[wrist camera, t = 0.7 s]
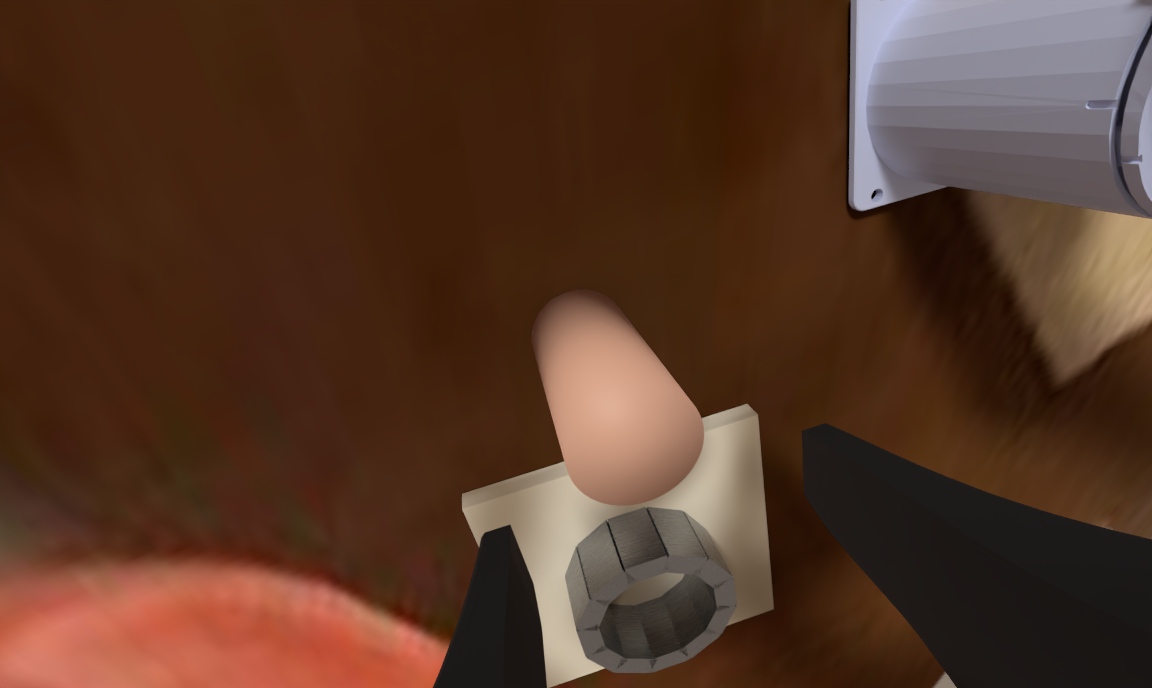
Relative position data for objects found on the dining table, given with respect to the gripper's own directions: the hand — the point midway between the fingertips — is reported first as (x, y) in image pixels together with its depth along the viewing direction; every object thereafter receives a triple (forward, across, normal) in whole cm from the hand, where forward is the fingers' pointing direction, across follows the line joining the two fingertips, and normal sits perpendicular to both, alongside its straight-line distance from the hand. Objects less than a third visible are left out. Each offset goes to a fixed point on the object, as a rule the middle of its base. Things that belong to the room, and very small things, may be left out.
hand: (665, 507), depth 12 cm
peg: (+10, 0, 0) cm, 10 cm away
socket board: (+10, 0, +13) cm, 17 cm away
